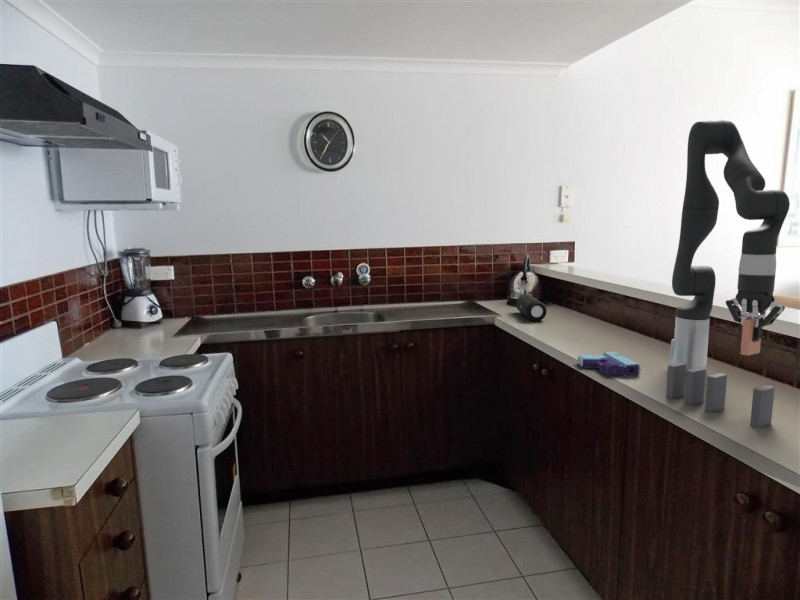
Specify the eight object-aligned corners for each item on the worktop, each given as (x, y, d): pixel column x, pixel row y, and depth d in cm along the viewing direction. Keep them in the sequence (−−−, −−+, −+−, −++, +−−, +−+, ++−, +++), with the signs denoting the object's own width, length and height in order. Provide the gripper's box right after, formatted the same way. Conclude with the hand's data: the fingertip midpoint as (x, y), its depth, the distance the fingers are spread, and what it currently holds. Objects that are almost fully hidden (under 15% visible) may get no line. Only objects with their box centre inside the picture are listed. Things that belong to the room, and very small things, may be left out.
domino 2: (684, 403, 134) (687, 370, 133) (697, 399, 136) (699, 367, 135) (691, 405, 133) (693, 372, 131) (703, 401, 135) (706, 369, 133)
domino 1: (666, 396, 139) (668, 364, 138) (678, 393, 141) (680, 362, 140) (671, 398, 137) (674, 366, 136) (684, 395, 140) (686, 363, 138)
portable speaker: (514, 312, 264) (515, 293, 262) (533, 312, 264) (534, 293, 262) (526, 322, 239) (527, 301, 237) (548, 322, 239) (548, 301, 237)
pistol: (573, 365, 172) (616, 362, 173) (593, 379, 156) (641, 376, 157) (573, 353, 171) (616, 350, 172) (594, 366, 156) (641, 363, 157)
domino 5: (750, 425, 119) (753, 388, 118) (762, 421, 122) (766, 385, 120) (758, 428, 118) (761, 390, 116) (771, 423, 120) (774, 387, 118)
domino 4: (740, 354, 129) (743, 319, 128) (752, 351, 131) (755, 317, 130) (747, 355, 128) (750, 320, 126) (759, 352, 130) (762, 318, 128)
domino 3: (704, 409, 129) (707, 375, 128) (717, 406, 131) (720, 372, 130) (711, 412, 128) (714, 377, 126) (724, 408, 130) (727, 374, 128)
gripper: (796, 273, 122) (789, 344, 125) (737, 269, 134) (732, 333, 137) (778, 275, 119) (771, 348, 121) (719, 271, 131) (715, 337, 134)
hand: (751, 340), depth 129 cm, fingers closed on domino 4, 1 cm apart
